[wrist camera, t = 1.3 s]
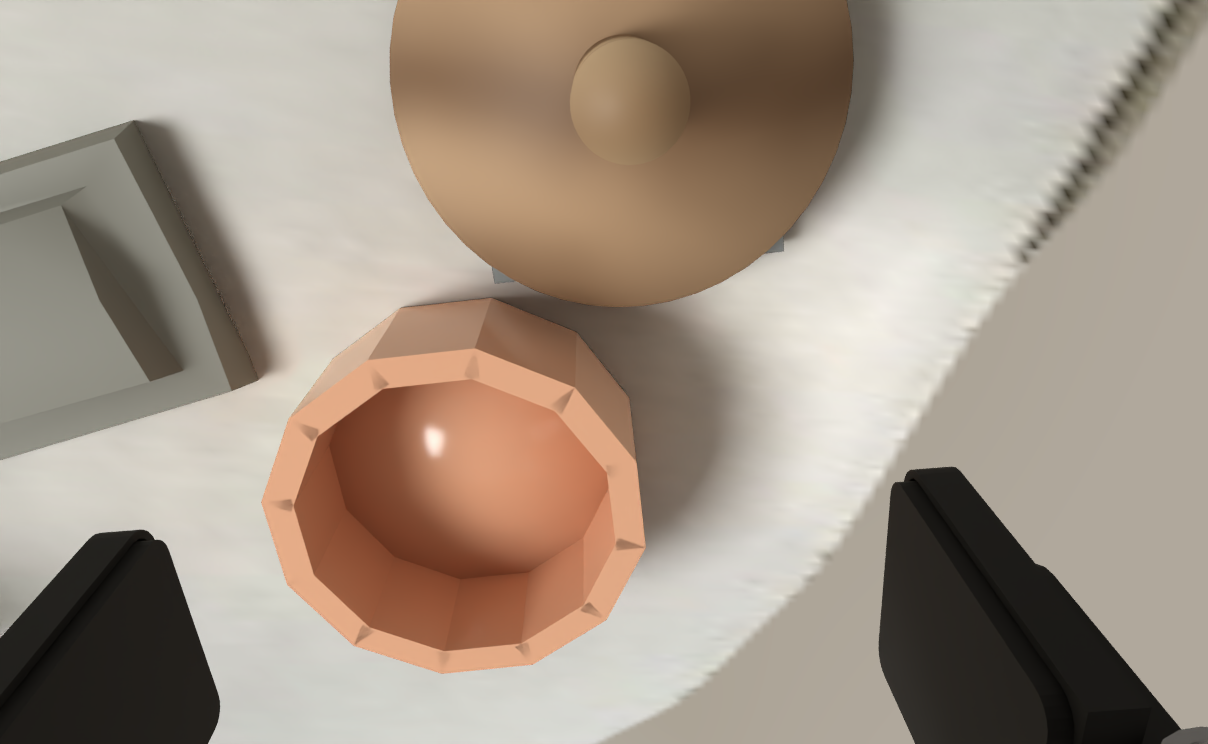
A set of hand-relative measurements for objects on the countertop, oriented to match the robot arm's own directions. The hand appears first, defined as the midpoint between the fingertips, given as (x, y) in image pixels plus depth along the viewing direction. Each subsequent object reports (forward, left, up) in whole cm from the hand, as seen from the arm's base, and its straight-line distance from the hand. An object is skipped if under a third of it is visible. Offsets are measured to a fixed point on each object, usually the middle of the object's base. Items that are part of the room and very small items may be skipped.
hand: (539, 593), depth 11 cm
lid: (-5, +2, -19) cm, 20 cm away
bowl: (+8, -5, -20) cm, 22 cm away
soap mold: (+1, -23, -21) cm, 31 cm away
